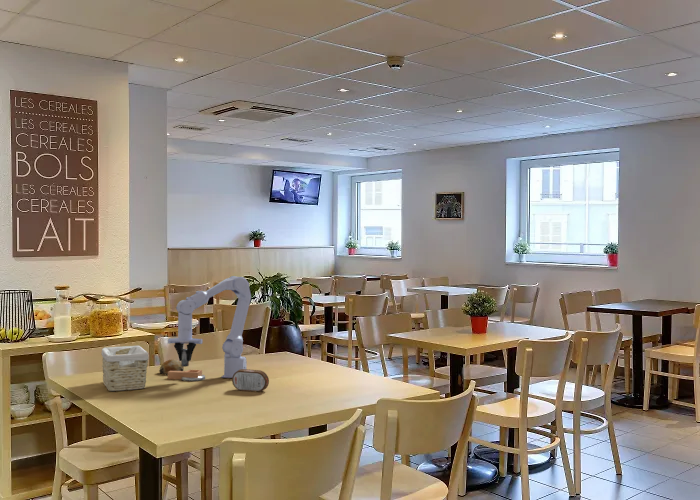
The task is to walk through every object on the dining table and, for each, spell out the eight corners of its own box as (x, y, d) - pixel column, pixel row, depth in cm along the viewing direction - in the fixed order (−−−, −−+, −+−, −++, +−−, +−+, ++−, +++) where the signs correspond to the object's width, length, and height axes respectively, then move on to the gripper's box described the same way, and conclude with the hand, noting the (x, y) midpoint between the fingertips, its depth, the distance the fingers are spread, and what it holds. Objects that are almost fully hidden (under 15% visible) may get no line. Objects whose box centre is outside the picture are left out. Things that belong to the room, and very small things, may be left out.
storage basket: (100, 381, 278) (100, 346, 278) (140, 378, 285) (140, 344, 285) (106, 393, 257) (106, 355, 256) (149, 389, 264) (149, 352, 264)
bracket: (202, 377, 287) (202, 370, 287) (197, 380, 282) (197, 372, 282) (171, 376, 289) (171, 369, 289) (166, 379, 283) (166, 371, 283)
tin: (269, 391, 262) (269, 370, 262) (266, 393, 259) (266, 371, 259) (234, 388, 266) (234, 368, 266) (230, 390, 263) (231, 369, 263)
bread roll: (175, 383, 293) (183, 367, 293) (154, 373, 293) (162, 357, 293) (181, 378, 303) (189, 363, 303) (161, 369, 303) (169, 353, 303)
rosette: (208, 377, 289) (208, 374, 289) (200, 381, 279) (200, 378, 279) (186, 376, 290) (186, 373, 290) (177, 381, 280) (177, 378, 280)
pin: (189, 365, 281) (189, 348, 281) (187, 366, 278) (187, 350, 278) (183, 365, 281) (182, 348, 281) (180, 366, 279) (180, 349, 278)
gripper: (165, 329, 277) (165, 361, 277) (198, 330, 275) (198, 362, 275) (171, 327, 284) (171, 359, 284) (204, 327, 282) (204, 359, 282)
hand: (185, 360), depth 280 cm, fingers closed on pin, 3 cm apart
